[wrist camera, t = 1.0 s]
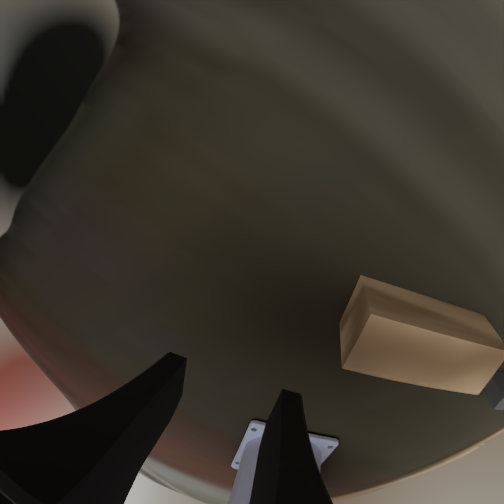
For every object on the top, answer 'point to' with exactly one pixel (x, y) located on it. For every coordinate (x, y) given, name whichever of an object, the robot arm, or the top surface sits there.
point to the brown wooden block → (417, 339)
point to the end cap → (496, 390)
